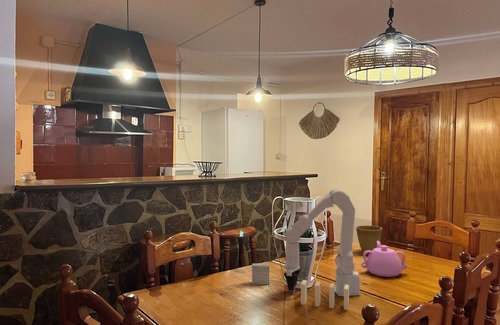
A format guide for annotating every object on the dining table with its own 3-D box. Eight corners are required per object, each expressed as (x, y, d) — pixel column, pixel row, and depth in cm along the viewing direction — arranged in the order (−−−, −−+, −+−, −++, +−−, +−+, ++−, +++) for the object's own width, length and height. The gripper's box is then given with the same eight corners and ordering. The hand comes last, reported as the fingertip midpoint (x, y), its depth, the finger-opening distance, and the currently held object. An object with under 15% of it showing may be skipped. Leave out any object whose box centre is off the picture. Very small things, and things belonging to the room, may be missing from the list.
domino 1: (295, 290, 157) (295, 272, 157) (293, 294, 152) (293, 275, 152) (291, 290, 157) (291, 271, 157) (289, 294, 153) (289, 275, 153)
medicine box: (268, 281, 168) (268, 263, 168) (269, 284, 164) (269, 266, 164) (251, 281, 168) (251, 263, 168) (252, 285, 164) (252, 266, 164)
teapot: (398, 266, 192) (398, 240, 192) (412, 279, 171) (412, 250, 170) (356, 265, 194) (356, 239, 194) (365, 278, 173) (365, 249, 173)
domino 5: (348, 305, 141) (348, 284, 141) (348, 310, 136) (348, 289, 136) (344, 304, 142) (344, 284, 142) (343, 309, 137) (343, 288, 137)
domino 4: (334, 303, 143) (334, 283, 143) (333, 308, 138) (333, 287, 138) (330, 302, 143) (330, 282, 143) (329, 307, 139) (329, 287, 139)
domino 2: (306, 300, 146) (306, 280, 146) (304, 304, 142) (304, 284, 141) (303, 299, 147) (303, 280, 147) (300, 304, 142) (300, 284, 142)
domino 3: (320, 301, 145) (320, 281, 144) (318, 306, 140) (318, 286, 140) (316, 301, 145) (316, 281, 145) (314, 306, 140) (314, 285, 140)
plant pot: (364, 249, 227) (364, 224, 227) (386, 254, 215) (386, 227, 215) (350, 253, 217) (350, 227, 217) (373, 259, 206) (373, 231, 206)
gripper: (286, 251, 163) (286, 281, 163) (279, 259, 149) (279, 292, 149) (302, 252, 161) (302, 282, 161) (296, 261, 147) (296, 294, 147)
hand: (292, 287), depth 155 cm, fingers closed on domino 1, 5 cm apart
